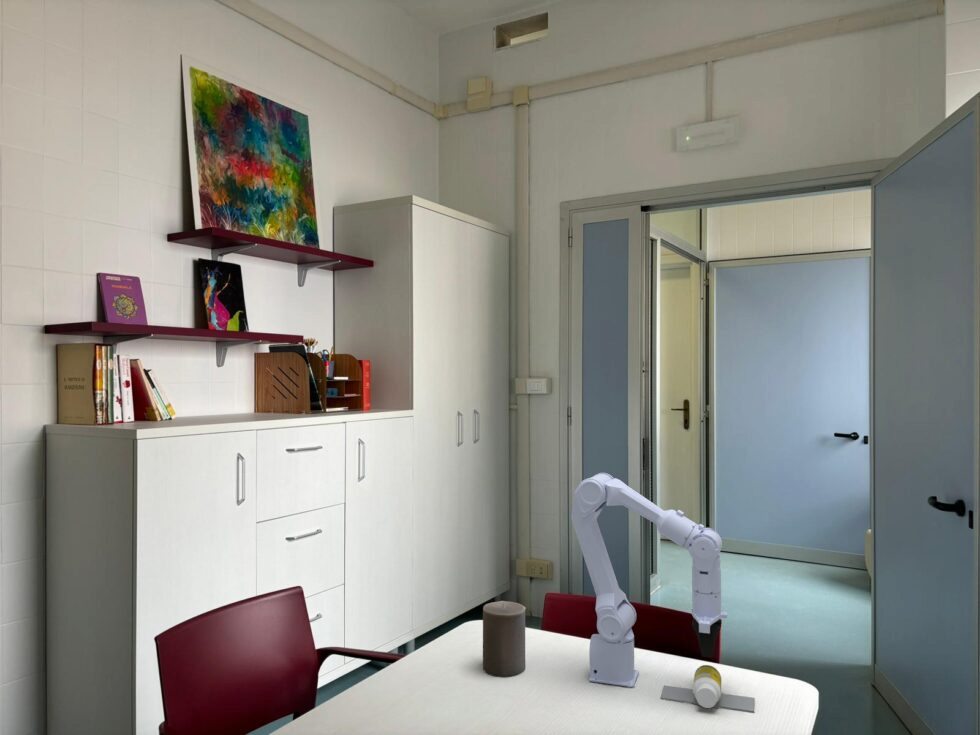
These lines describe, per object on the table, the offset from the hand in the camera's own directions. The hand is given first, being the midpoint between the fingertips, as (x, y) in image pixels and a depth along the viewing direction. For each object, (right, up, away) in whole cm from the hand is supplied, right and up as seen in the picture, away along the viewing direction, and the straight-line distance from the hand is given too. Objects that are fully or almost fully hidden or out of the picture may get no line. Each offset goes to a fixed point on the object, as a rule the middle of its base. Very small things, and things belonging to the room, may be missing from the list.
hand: (707, 655), depth 148 cm
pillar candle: (-41, -9, +15) cm, 45 cm away
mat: (-1, -8, -2) cm, 8 cm away
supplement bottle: (+1, -5, +2) cm, 5 cm away
